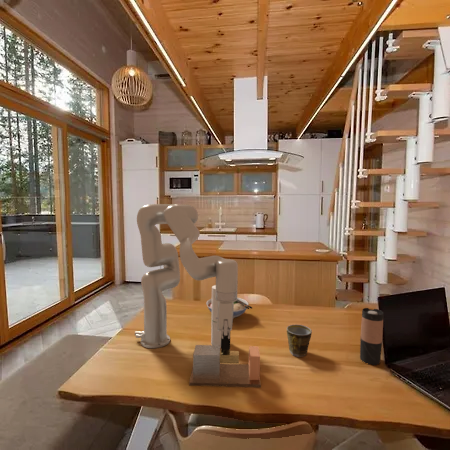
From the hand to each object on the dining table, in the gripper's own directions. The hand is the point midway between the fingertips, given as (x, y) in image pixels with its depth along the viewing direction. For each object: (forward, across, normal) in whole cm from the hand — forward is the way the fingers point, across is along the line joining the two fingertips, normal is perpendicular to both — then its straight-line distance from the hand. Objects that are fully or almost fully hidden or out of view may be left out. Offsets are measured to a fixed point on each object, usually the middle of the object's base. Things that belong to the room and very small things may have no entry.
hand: (225, 345), depth 105 cm
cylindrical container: (+12, -24, -3) cm, 27 cm away
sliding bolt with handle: (+6, 0, -3) cm, 7 cm away
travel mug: (+12, -13, +57) cm, 60 cm away
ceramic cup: (+12, -16, +29) cm, 35 cm away
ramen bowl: (+12, -54, 0) cm, 55 cm away
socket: (+10, 0, +10) cm, 14 cm away
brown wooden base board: (+11, 0, 0) cm, 11 cm away
